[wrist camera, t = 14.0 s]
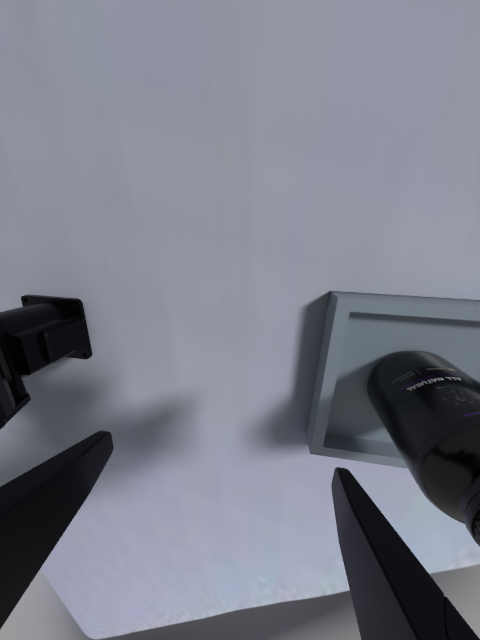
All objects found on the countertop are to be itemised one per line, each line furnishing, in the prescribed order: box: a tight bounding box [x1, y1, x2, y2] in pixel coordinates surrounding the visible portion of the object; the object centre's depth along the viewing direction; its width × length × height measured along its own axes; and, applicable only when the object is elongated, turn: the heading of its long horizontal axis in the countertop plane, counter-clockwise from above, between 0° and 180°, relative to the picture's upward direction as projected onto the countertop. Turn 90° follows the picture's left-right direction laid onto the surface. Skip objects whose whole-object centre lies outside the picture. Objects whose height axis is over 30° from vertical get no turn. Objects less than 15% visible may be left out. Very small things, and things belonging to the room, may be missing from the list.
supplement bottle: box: [367, 351, 480, 546], centre depth 14 cm, size 7×7×12 cm
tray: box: [307, 291, 480, 468], centre depth 19 cm, size 15×15×2 cm
